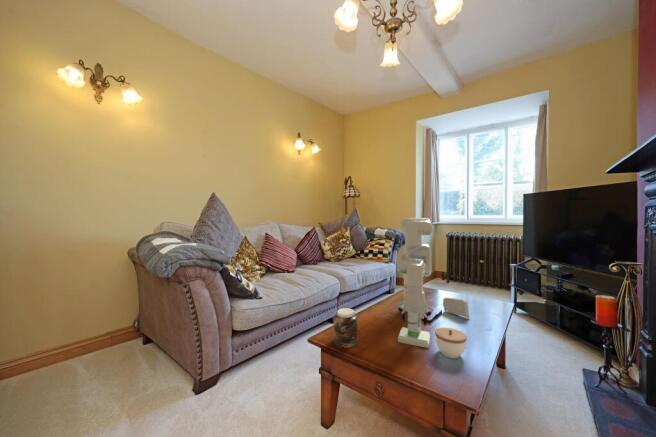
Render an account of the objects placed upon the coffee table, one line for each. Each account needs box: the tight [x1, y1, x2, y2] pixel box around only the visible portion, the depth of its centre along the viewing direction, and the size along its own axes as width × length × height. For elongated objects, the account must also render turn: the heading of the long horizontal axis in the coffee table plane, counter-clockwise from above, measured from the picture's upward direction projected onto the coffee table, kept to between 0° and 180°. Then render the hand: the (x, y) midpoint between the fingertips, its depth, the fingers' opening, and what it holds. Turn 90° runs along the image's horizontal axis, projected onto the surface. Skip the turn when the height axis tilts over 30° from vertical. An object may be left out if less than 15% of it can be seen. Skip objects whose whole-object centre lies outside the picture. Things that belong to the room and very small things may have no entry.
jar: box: [333, 307, 359, 349], centre depth 126 cm, size 12×12×15 cm
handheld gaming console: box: [442, 297, 470, 320], centre depth 160 cm, size 11×3×15 cm
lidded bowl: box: [434, 327, 468, 359], centre depth 115 cm, size 13×13×11 cm
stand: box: [397, 326, 431, 349], centre depth 128 cm, size 11×14×3 cm
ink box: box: [407, 311, 422, 338], centre depth 128 cm, size 9×5×12 cm, turn 149°
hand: (414, 323), depth 128 cm, fingers open, 9 cm apart
